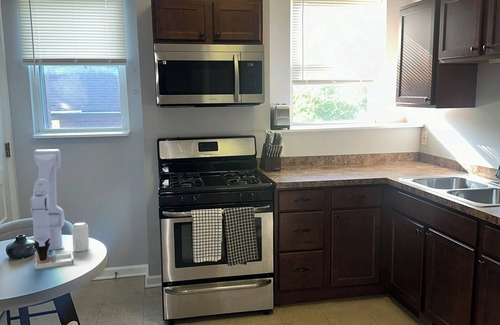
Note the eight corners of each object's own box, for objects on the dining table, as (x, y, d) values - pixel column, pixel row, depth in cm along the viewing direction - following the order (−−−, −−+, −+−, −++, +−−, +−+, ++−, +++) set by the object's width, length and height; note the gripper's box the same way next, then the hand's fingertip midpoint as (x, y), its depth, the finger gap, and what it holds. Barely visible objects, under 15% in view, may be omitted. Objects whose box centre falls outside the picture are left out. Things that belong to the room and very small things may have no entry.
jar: (37, 262, 176) (36, 247, 175) (49, 260, 177) (48, 246, 176) (36, 266, 172) (35, 251, 171) (48, 264, 173) (47, 250, 172)
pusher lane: (35, 261, 177) (35, 256, 177) (72, 256, 183) (72, 251, 183) (35, 269, 169) (34, 264, 169) (73, 263, 175) (73, 258, 175)
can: (70, 250, 190) (68, 224, 189) (81, 246, 196) (80, 220, 194) (80, 253, 187) (79, 226, 186) (92, 248, 193) (91, 222, 191)
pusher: (52, 258, 179) (52, 250, 178) (55, 258, 179) (55, 250, 179) (53, 264, 173) (52, 255, 173) (55, 263, 174) (55, 255, 173)
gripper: (30, 221, 177) (32, 253, 179) (29, 231, 164) (31, 266, 166) (49, 219, 180) (51, 251, 182) (49, 229, 167) (51, 263, 169)
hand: (43, 258), depth 174 cm, fingers closed on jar, 4 cm apart
